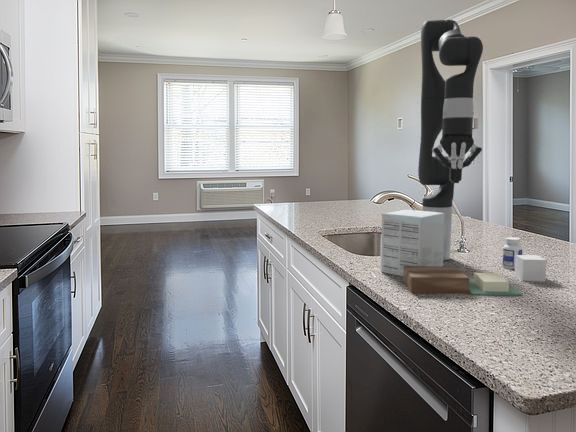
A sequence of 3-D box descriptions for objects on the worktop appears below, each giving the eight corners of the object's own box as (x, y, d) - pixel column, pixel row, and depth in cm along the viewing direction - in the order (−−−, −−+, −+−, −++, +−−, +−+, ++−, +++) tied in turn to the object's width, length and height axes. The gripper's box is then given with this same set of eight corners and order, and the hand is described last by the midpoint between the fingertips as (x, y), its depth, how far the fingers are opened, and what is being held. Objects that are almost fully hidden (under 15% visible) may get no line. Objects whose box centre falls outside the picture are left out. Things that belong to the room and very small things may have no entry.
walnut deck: (403, 280, 135) (403, 266, 135) (455, 281, 134) (456, 266, 134) (411, 293, 123) (411, 277, 123) (468, 293, 122) (469, 277, 122)
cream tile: (497, 273, 131) (496, 282, 131) (474, 272, 131) (473, 281, 132) (509, 281, 122) (508, 291, 122) (483, 281, 123) (483, 291, 123)
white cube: (514, 275, 140) (515, 254, 139) (536, 276, 139) (537, 255, 139) (522, 281, 134) (523, 259, 133) (545, 281, 133) (546, 259, 133)
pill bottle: (516, 265, 152) (517, 236, 151) (524, 269, 147) (526, 239, 146) (499, 265, 152) (500, 237, 151) (507, 269, 147) (508, 240, 146)
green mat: (456, 280, 135) (456, 278, 135) (501, 280, 134) (501, 279, 134) (471, 294, 121) (472, 293, 121) (522, 295, 120) (522, 293, 120)
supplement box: (404, 264, 154) (405, 208, 152) (443, 271, 145) (445, 212, 142) (379, 272, 145) (380, 213, 142) (419, 280, 135) (421, 217, 133)
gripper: (479, 117, 133) (476, 181, 135) (429, 117, 133) (426, 181, 136) (488, 115, 125) (485, 184, 128) (435, 116, 126) (432, 184, 128)
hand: (455, 182), depth 132 cm, fingers closed
